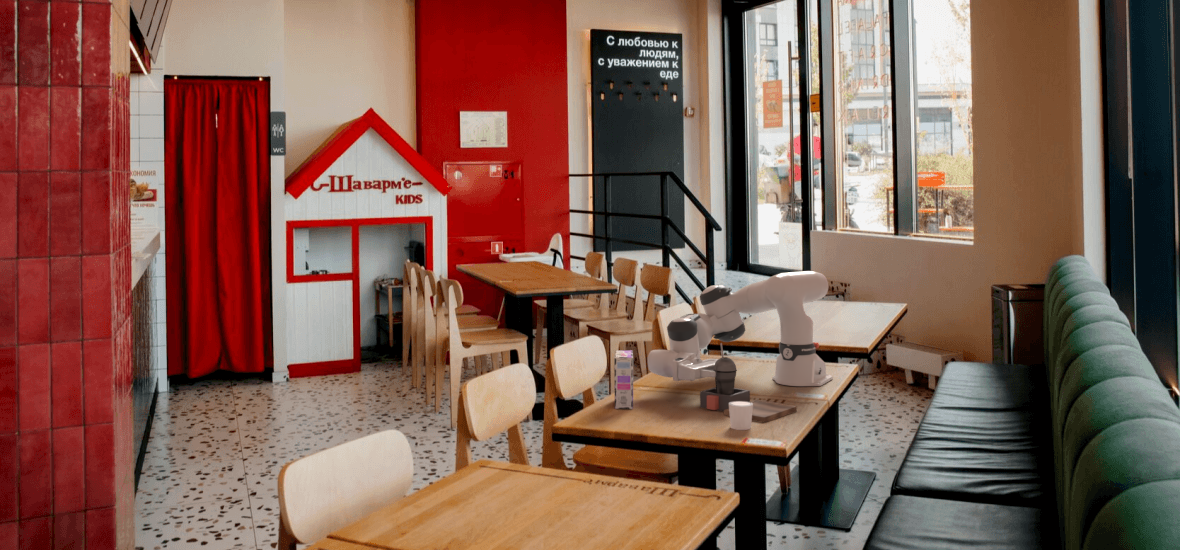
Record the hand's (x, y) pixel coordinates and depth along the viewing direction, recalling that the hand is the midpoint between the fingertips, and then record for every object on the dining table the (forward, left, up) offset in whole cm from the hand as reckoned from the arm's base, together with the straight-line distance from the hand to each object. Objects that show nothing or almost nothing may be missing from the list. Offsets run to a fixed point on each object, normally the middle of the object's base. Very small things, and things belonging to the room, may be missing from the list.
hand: (724, 372), depth 282 cm
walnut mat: (0, +13, -11) cm, 17 cm away
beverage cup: (0, 0, -11) cm, 11 cm away
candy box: (+18, -26, -11) cm, 34 cm away
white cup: (+18, +18, -11) cm, 28 cm away
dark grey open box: (0, 0, -11) cm, 11 cm away
